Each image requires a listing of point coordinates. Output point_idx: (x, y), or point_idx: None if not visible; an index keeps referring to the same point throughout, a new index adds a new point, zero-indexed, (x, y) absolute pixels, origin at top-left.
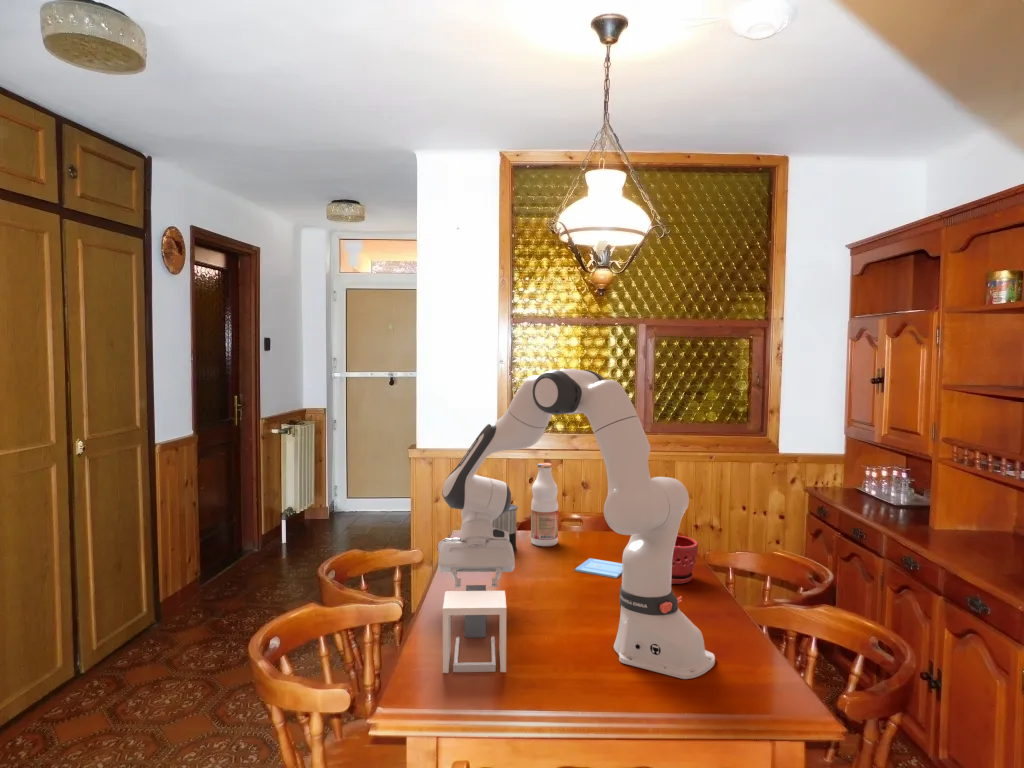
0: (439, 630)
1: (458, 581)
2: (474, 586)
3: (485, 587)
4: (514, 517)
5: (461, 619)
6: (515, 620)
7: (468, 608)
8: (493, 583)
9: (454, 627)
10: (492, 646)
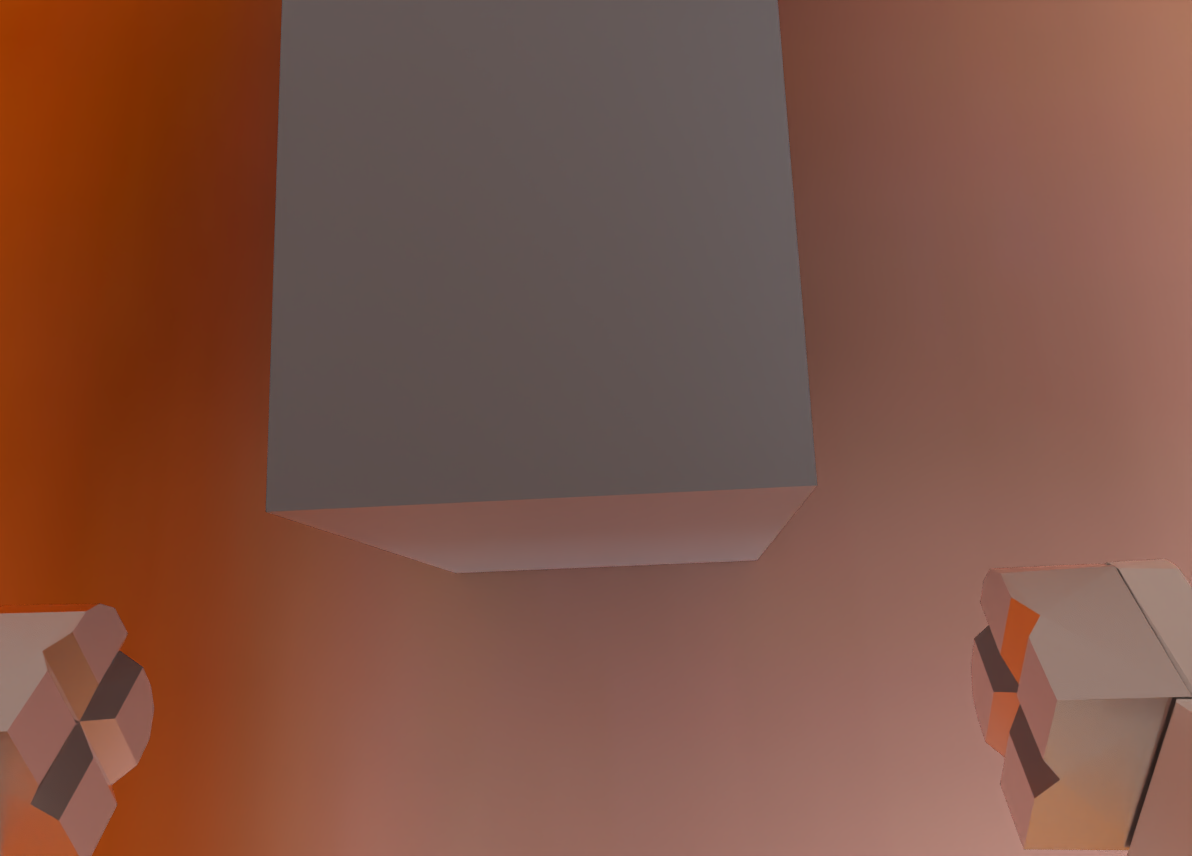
0: (1080, 53)
1: (1098, 618)
2: (574, 392)
3: (280, 335)
4: None
5: (816, 429)
6: (43, 413)
7: None
8: (45, 612)
9: (883, 154)
10: None
